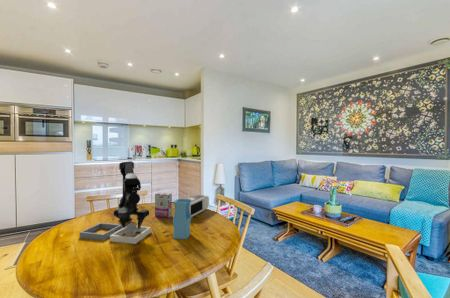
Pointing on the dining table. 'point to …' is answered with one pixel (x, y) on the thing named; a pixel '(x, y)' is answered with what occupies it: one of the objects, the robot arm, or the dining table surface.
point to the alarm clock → (198, 204)
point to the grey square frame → (97, 236)
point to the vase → (182, 219)
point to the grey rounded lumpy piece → (130, 230)
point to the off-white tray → (133, 240)
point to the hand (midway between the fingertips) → (131, 228)
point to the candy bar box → (163, 205)
